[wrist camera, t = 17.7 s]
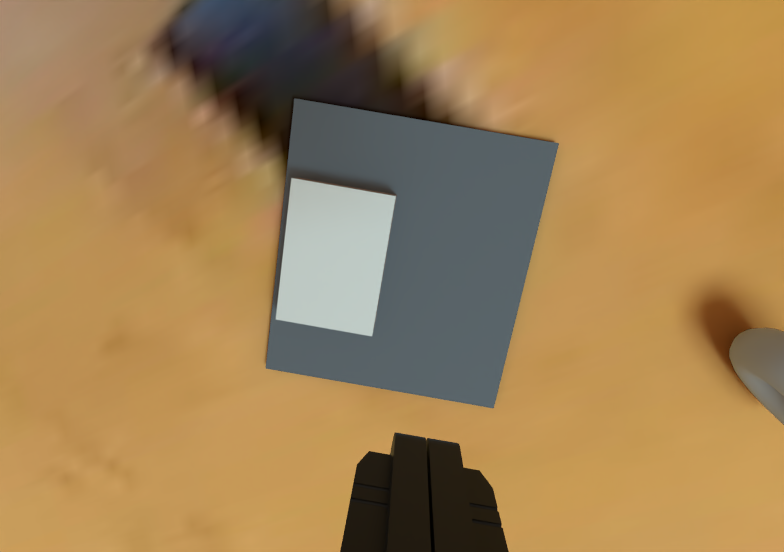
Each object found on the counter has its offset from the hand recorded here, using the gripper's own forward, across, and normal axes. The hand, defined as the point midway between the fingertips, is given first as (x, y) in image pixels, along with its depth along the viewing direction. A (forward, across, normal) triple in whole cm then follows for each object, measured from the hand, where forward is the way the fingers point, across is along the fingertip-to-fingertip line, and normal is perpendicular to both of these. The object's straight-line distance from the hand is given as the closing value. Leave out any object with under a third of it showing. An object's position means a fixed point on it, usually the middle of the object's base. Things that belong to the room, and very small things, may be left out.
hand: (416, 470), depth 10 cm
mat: (+23, +1, 0) cm, 23 cm away
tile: (+22, +2, 0) cm, 22 cm away
